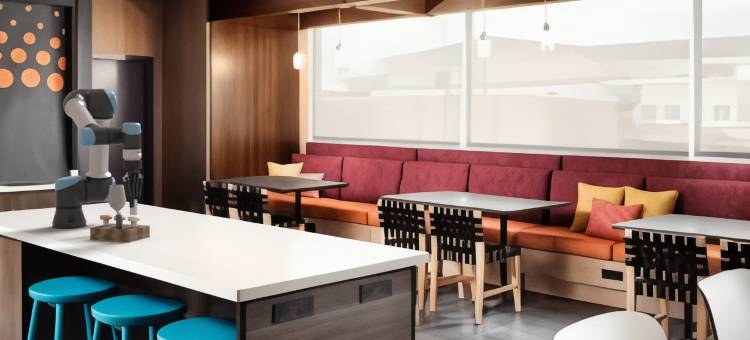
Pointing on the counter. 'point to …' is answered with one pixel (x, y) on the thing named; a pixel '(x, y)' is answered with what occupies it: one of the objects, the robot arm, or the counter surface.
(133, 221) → the knob
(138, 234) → the brown wooden holder block
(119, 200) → the wineglass
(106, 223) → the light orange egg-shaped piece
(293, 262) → the counter surface
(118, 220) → the gray rod
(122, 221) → the knob mid
